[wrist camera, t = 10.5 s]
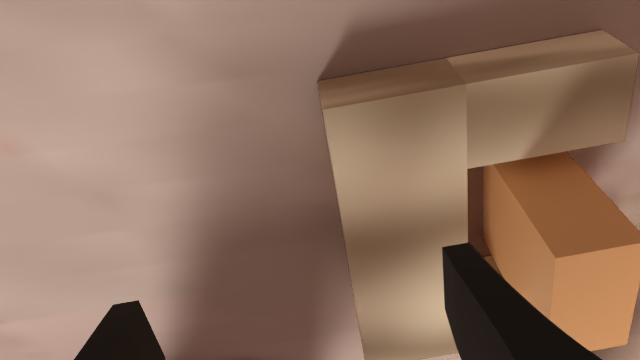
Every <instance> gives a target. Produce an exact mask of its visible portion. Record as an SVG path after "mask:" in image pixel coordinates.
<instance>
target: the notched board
mask: <svg viewBox="0 0 640 360" xmlns="http://www.w3.org/2000/svg"><path fill="white" fill-rule="evenodd" d="M638 59H639V52H637V51H635V50H634V49H632V48H631V47H629V46H627V45H626V44H624V43H623V42H621V41H619V40H618V39H616V38H615V37H613V36H611V35H610V34H608V33H607V32H605V31H603V30H599V31H593V32H588V33H582V34H577V35H571V36H565V37H560V38H554V39H549V40H543V41H538V42H532V43H526V44H521V45H515V46H510V47H504V48H499V49H493V50H488V51H482V52H476V53H471V54H465V55H460V56H454V57H449V58H443V59H437V60H432V61H426V62H421V63H415V64H410V65H404V66H398V67H393V68H387V69H382V70H376V71H371V72H365V73H360V74H354V75H348V76H343V77H337V78H332V79H326V80H321V81H317V83H318V89H319V95H320V101H321V107H322V113H323V118H324V124H325V130H326V136H327V142H328V148H329V154H330V160H331V166H332V172H333V178H334V184H335V189H336V195H337V201H338V207H339V213H340V219H341V225H342V231H343V237H344V243H345V249H346V254H347V260H348V266H349V272H350V278H351V284H352V290H353V296H354V302H355V308H356V314H357V319H358V325H359V331H360V336H361V342H362V347H363V352H364V358H365V360H420V359H425V358H431V357H437V356H443V355H448V354H454V353H459V352H458V350H457V347H456V344H455V341H454V338H453V335H452V331H451V328H450V325H449V321H448V318H447V315H446V311H445V303H444V280H443V258H442V247H446V246H451V245H457V244H463V243H468V192H467V169H470V168H475V167H481V166H486V165H492V164H498V163H503V162H509V161H515V160H520V159H526V158H532V157H537V156H543V155H548V154H554V153H560V152H565V151H571V150H577V149H582V148H588V147H594V146H599V145H605V144H611V143H616V142H622V141H625V136H626V130H627V124H628V118H629V112H630V106H631V100H632V94H633V88H634V83H635V77H636V71H637V65H638ZM483 258H484V259H485V260H486V261H487V262H488V263H489V264H490V265H491V266H492V267H493V268H494V269H495V270H496V271H497V272H498V273H499V274H500V275H501V276H502V274H501V272H500V270H499V268H498V266H497V264H496V262H495V260H494V258H493V257H492V256H486V257H483ZM502 277H503V276H502Z"/></svg>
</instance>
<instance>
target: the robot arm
mask: <svg viewBox="0 0 640 360" xmlns="http://www.w3.org/2000/svg"><path fill="white" fill-rule="evenodd" d="M442 258H443V280H444V303H445V311H446V315H447V318H448V321H449V325H450V328H451V331H452V335H453V338H454V341H455V344H456V347H457V350H458V352H459V355H460V357H461V359H462V360H602V359H600V358H599V357H598V356H596V355H595V354H593V353H592V352H591V351H589V350H588V349H586V348H585V347H584V346H582V345H581V344H580V343H578V342H577V341H576V340H574V339H573V338H572V337H570V336H569V335H568V334H566V333H565V332H564V331H563V330H561V329H560V328H559V327H558V326H556V325H555V324H554V323H553V322H552V321H550V320H549V319H548V318H547V317H546V316H544V315H543V314H542V313H541V312H540V311H539V310H537V309H536V308H535V307H534V306H533V305H532V304H531V303H530V302H528V301H527V300H526V299H525V298H524V297H523V296H522V295H521V294H520V293H519V292H517V291H516V290H515V289H514V288H513V287H512V286H511V285H510V284H509V283H508V282H507V281H506V280H505V279H504V278H503V277H502V276H501V275H500V274H499V273H498V272H497V271H496V270H495V269H494V268H493V267H492V266H491V265H490V264H489V263H488V262H487V261H486V260H485V259H484V258H483V257H482V255H481V254H480V253H479V252H478V251H477V250H476V249H475V248H474V247H473V246H472V245H471V244H469V243H463V244H457V245H451V246H446V247H442ZM74 360H165V356H164V354H163V352H162V350H161V347H160V345H159V343H158V341H157V339H156V337H155V335H154V332H153V330H152V328H151V326H150V324H149V322H148V320H147V318H146V315H145V313H144V311H143V309H142V307H141V305H140V303H139V300H138V301H132V302H127V303H121V304H115V305H113V306H112V307H111V309H110V310H109V311H108V313H107V314H106V315H105V317H104V318H103V319H102V321H101V322H100V324H99V325H98V326H97V328H96V329H95V331H94V332H93V334H92V335H91V336H90V338H89V339H88V341H87V342H86V343H85V345H84V346H83V348H82V349H81V351H80V352H79V353H78V355H77V356H76V358H75V359H74Z"/></svg>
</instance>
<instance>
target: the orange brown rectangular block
mask: <svg viewBox="0 0 640 360" xmlns="http://www.w3.org/2000/svg"><path fill="white" fill-rule="evenodd" d="M484 241H485V243H486V245H487V247H488V249H489V251H490V253H491V255H492V257H493V258H494V260H495V262H496V264H497V266H498V268H499V270H500V272H501V274H502V276H503V278H504V279H505V280H506V281H507V282H508V283H509V284H510V285H511V286H512V287H513V288H514V289H515V290H516V291H517V292H519V293H520V294H521V295H522V296H523V297H524V298H525V299H526V300H527V301H528V302H530V303H531V304H532V305H533V306H534V307H535V308H536V309H537V310H539V311H540V312H541V313H542V314H543V315H544V316H546V317H547V318H548V319H549V320H550V321H552V322H553V323H554V324H555V325H556V326H558V327H559V328H560V329H561V330H563V331H564V332H565V333H566V334H568V335H569V336H570V337H572V338H573V339H574V340H576V341H577V342H578V343H580V344H581V345H582V346H584V347H585V348H586V349H588V350H589V351H595V350H600V349H606V348H611V347H617V346H623V345H627V342H628V337H629V332H630V328H631V323H632V318H633V313H634V309H635V304H636V299H637V294H638V290H639V285H640V232H639V230H638V229H637V228H636V227H635V226H634V225H633V224H632V223H631V222H630V221H629V219H628V218H627V217H626V216H625V215H624V214H623V213H622V212H621V211H620V210H619V209H618V207H617V206H616V205H615V204H614V203H613V202H612V201H611V200H610V199H609V198H608V196H607V195H606V194H605V193H604V192H603V191H602V190H601V189H600V188H599V187H598V185H597V184H596V183H595V182H594V181H593V180H592V179H591V178H590V177H589V176H588V174H587V173H586V172H585V171H584V170H583V169H582V168H581V167H580V166H579V165H578V164H577V162H576V161H575V160H574V159H573V158H572V157H571V156H570V155H569V154H568V153H567V151H565V152H560V153H554V154H548V155H543V156H537V157H532V158H526V159H520V160H515V161H509V162H503V163H498V164H492V165H486V166H484Z"/></svg>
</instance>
